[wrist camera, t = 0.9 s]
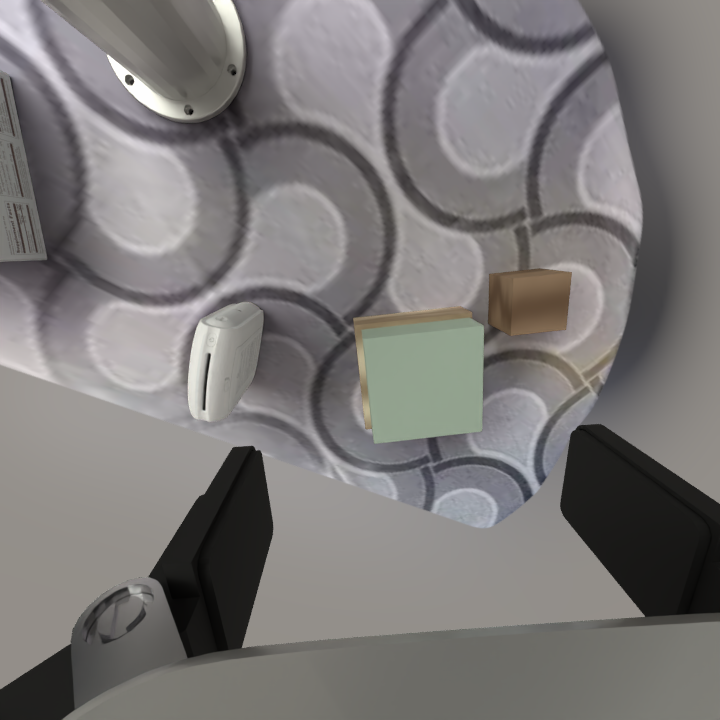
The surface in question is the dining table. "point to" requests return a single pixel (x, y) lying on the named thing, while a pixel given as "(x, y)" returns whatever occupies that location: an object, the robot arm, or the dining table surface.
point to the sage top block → (424, 379)
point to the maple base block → (396, 320)
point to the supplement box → (16, 188)
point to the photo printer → (223, 360)
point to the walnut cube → (529, 301)
